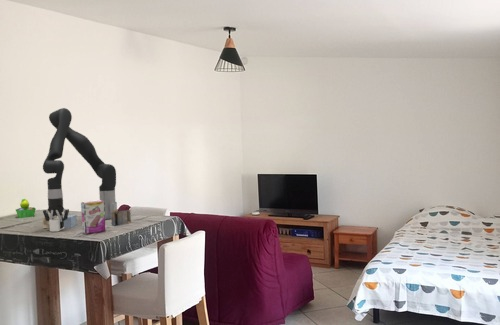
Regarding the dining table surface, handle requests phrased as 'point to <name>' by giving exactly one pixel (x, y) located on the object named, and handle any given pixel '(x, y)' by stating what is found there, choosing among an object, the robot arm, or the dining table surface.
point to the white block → (55, 225)
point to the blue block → (70, 221)
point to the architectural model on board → (120, 217)
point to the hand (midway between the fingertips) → (57, 228)
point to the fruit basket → (25, 209)
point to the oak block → (46, 223)
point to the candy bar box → (93, 216)
